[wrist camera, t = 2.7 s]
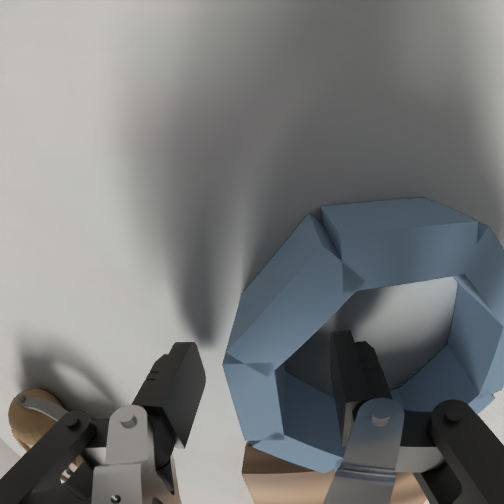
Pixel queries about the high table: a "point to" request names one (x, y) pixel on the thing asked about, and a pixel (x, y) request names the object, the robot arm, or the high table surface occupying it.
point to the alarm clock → (37, 420)
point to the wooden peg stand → (306, 482)
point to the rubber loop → (337, 293)
